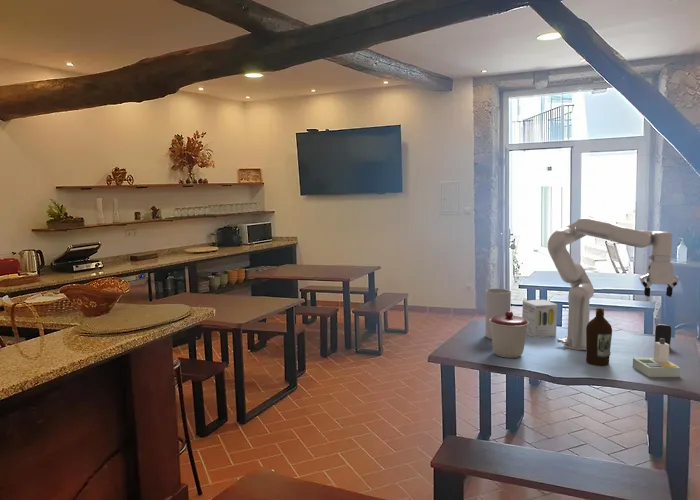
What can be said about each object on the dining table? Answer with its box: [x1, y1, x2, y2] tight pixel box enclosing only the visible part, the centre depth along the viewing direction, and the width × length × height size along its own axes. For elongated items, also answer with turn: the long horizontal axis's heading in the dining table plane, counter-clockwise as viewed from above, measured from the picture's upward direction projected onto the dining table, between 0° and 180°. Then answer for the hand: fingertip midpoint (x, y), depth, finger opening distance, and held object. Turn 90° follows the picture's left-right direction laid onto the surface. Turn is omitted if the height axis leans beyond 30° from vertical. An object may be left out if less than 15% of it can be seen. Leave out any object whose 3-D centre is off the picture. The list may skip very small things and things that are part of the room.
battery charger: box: [654, 323, 673, 349], centre depth 266 cm, size 7×4×11 cm, turn 62°
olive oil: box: [585, 307, 613, 367], centre depth 241 cm, size 11×11×25 cm
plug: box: [653, 338, 670, 363], centre depth 232 cm, size 4×4×14 cm
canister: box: [489, 310, 529, 359], centre depth 253 cm, size 18×18×21 cm
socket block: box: [632, 357, 681, 378], centre depth 230 cm, size 13×13×4 cm
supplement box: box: [521, 299, 558, 339], centre depth 289 cm, size 13×13×18 cm
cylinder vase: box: [484, 288, 512, 340], centre depth 283 cm, size 12×12×25 cm
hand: (658, 296), depth 244 cm, fingers open, 9 cm apart
